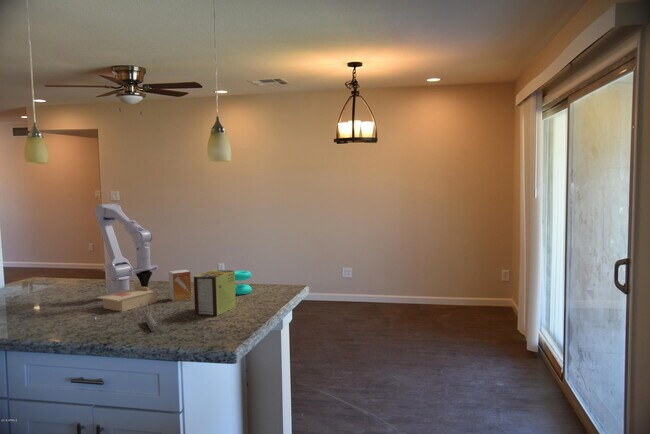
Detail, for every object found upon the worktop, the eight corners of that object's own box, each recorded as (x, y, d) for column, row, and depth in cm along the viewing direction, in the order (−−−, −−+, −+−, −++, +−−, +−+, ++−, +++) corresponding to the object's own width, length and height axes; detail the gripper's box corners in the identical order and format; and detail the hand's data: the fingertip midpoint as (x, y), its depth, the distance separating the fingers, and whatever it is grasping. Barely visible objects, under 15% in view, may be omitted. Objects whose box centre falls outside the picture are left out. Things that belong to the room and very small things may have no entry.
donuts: (232, 270, 244) (252, 270, 244) (232, 290, 245) (253, 290, 245) (227, 274, 234) (249, 273, 234) (228, 295, 235) (249, 295, 235)
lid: (97, 298, 210) (97, 293, 210) (133, 289, 226) (133, 285, 226) (117, 301, 204) (117, 296, 204) (153, 292, 220) (153, 287, 220)
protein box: (236, 306, 214) (235, 270, 213) (217, 316, 199) (215, 277, 198) (214, 305, 217) (213, 269, 216) (194, 314, 203) (192, 276, 202)
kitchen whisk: (146, 335, 176) (146, 317, 176) (133, 314, 206) (132, 298, 206) (164, 332, 179) (164, 315, 179) (148, 312, 209) (148, 297, 209)
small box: (173, 302, 223) (172, 273, 222) (169, 299, 228) (168, 271, 227) (191, 299, 227) (190, 271, 226) (187, 297, 233) (186, 269, 232)
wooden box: (103, 309, 213) (102, 297, 212) (138, 300, 228) (137, 289, 228) (122, 312, 207) (122, 300, 206) (157, 303, 222) (156, 291, 222)
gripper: (136, 260, 215) (137, 292, 216) (162, 255, 227) (163, 285, 228) (124, 259, 218) (126, 290, 219) (151, 254, 231) (152, 284, 232)
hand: (144, 288), depth 224 cm, fingers closed
